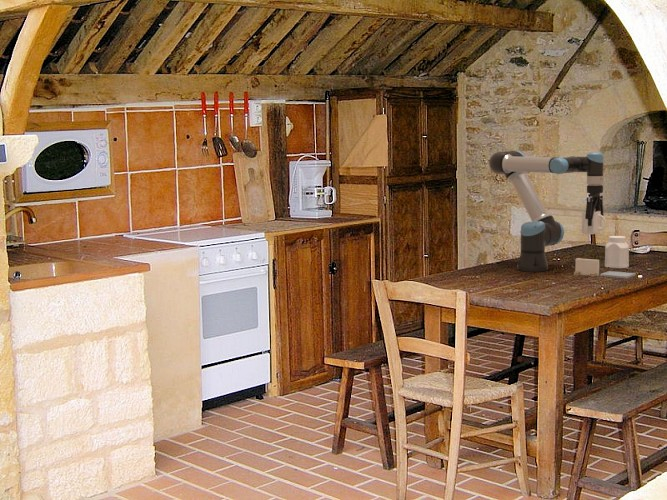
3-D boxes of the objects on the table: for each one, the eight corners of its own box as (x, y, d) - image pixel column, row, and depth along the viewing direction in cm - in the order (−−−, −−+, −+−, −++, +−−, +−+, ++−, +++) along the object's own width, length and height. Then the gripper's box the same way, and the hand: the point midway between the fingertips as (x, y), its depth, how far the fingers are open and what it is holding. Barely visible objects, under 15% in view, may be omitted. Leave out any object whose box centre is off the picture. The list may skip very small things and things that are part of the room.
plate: (599, 276, 444) (599, 274, 444) (609, 273, 452) (609, 271, 452) (626, 278, 436) (626, 276, 435) (635, 275, 444) (635, 273, 444)
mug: (601, 235, 449) (602, 212, 447) (578, 233, 457) (578, 211, 455) (609, 233, 455) (610, 211, 454) (587, 231, 463) (587, 210, 462)
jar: (602, 267, 471) (602, 237, 469) (608, 264, 479) (609, 235, 477) (625, 268, 465) (625, 238, 463) (631, 266, 472) (631, 236, 471)
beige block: (572, 275, 448) (572, 259, 447) (577, 273, 452) (577, 258, 451) (594, 277, 442) (594, 261, 441) (599, 275, 445) (599, 259, 444)
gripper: (593, 186, 442) (592, 234, 445) (611, 183, 459) (610, 229, 462) (578, 186, 447) (577, 233, 450) (596, 183, 463) (595, 229, 466)
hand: (594, 231), depth 456 cm, fingers closed on mug, 9 cm apart
